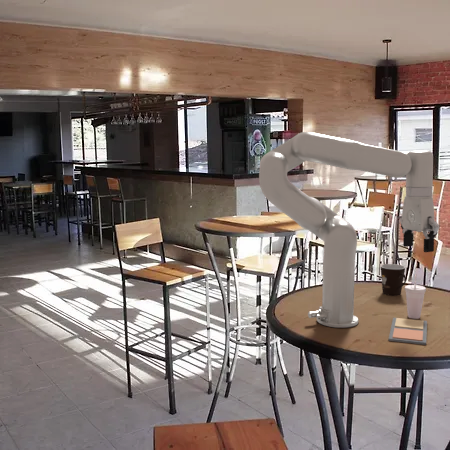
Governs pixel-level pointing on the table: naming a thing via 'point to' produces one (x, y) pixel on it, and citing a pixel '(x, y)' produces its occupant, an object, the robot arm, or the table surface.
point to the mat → (408, 331)
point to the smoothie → (414, 299)
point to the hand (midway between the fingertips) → (418, 248)
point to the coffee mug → (392, 279)
